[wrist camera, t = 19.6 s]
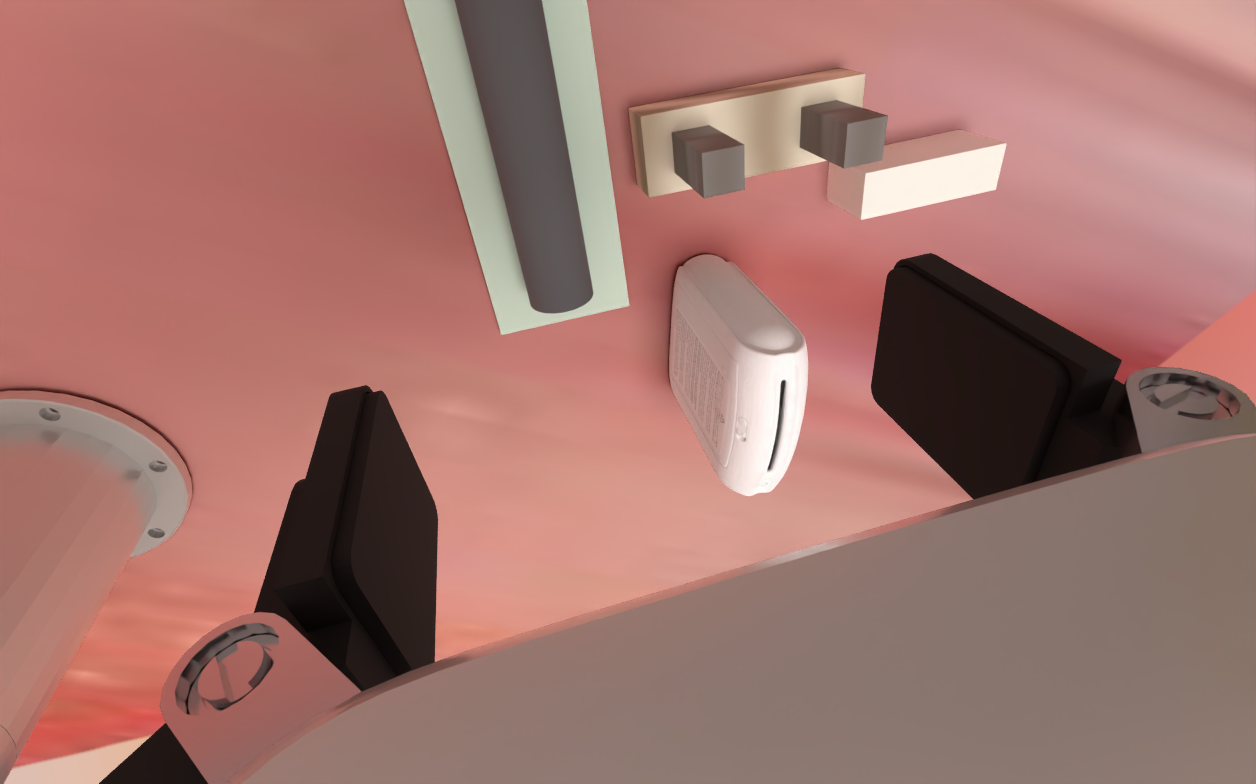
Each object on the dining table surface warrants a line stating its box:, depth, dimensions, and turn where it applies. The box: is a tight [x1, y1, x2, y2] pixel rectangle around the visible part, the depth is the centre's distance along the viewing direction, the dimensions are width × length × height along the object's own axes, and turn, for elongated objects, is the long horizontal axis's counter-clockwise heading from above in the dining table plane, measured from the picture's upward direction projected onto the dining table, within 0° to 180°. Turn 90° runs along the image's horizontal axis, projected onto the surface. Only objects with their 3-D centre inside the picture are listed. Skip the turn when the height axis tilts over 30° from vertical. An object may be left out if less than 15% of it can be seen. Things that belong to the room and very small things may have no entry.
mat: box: [404, 0, 629, 335], centre depth 30 cm, size 8×22×1 cm, turn 7°
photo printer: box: [669, 255, 808, 496], centre depth 35 cm, size 10×4×12 cm, turn 0°
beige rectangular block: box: [826, 129, 1007, 220], centre depth 35 cm, size 9×3×4 cm, turn 97°
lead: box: [455, 0, 593, 314], centre depth 29 cm, size 17×4×4 cm, turn 7°
